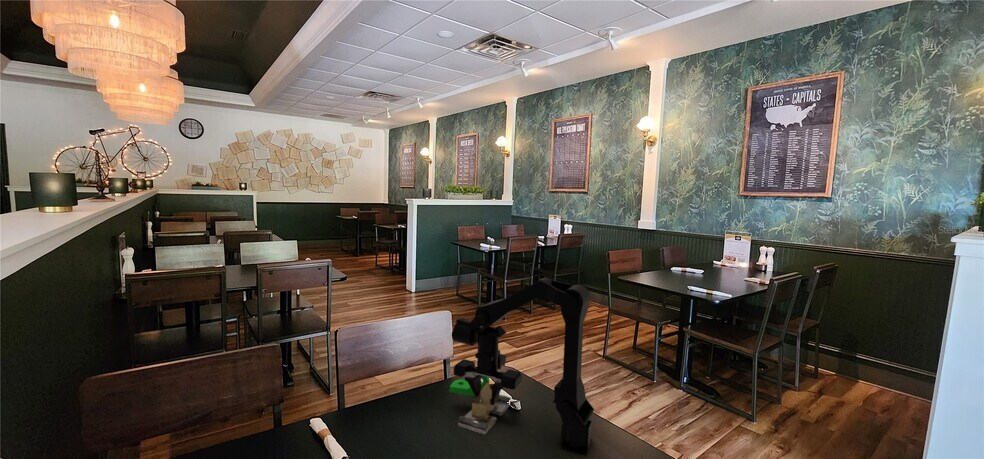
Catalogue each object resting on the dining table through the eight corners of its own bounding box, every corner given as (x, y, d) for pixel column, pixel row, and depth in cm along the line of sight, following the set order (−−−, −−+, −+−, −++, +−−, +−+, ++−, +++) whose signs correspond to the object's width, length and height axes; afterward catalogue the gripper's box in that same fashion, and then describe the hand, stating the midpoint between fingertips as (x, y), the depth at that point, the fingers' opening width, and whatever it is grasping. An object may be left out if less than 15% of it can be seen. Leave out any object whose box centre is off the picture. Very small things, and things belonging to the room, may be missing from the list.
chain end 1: (496, 421, 112) (496, 412, 112) (485, 434, 106) (485, 425, 106) (470, 413, 116) (470, 405, 115) (458, 426, 109) (458, 417, 109)
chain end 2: (510, 404, 121) (511, 396, 121) (501, 415, 115) (501, 407, 115) (486, 397, 125) (486, 390, 124) (475, 408, 118) (475, 400, 118)
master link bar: (499, 398, 120) (499, 383, 120) (486, 419, 109) (486, 403, 108) (486, 396, 121) (486, 381, 121) (471, 416, 110) (472, 400, 110)
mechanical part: (492, 389, 130) (492, 365, 130) (487, 398, 125) (487, 373, 124) (456, 384, 133) (456, 360, 133) (449, 392, 128) (450, 367, 127)
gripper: (529, 345, 117) (527, 398, 118) (471, 334, 125) (470, 383, 126) (515, 359, 107) (513, 416, 108) (452, 346, 115) (451, 399, 116)
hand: (486, 402), depth 115 cm, fingers closed on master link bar, 4 cm apart
